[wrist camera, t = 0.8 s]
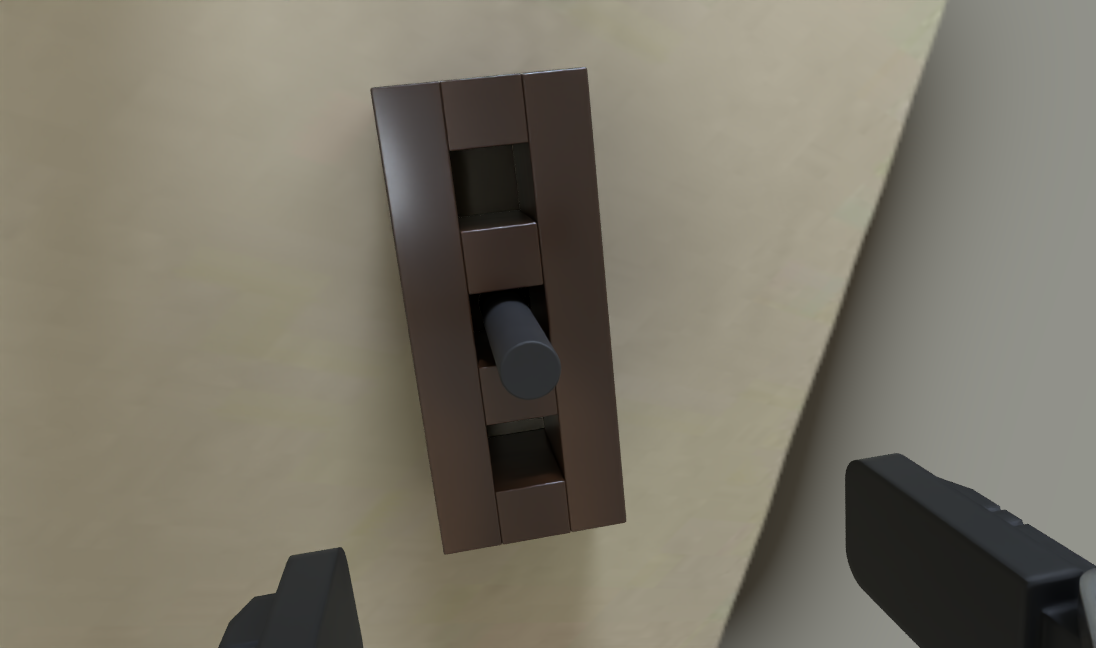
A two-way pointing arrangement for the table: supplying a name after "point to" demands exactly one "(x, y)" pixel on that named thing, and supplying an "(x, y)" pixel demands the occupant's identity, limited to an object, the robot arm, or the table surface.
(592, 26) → the table surface
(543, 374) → the stylus
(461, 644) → the table surface
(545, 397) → the pen stand
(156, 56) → the table surface
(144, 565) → the table surface
